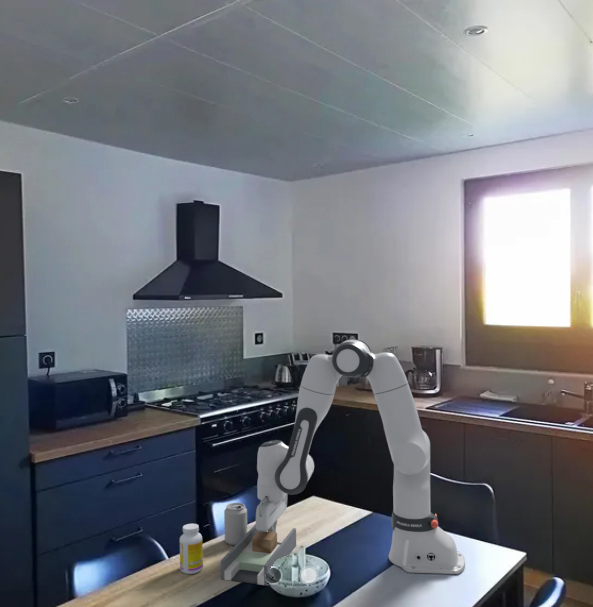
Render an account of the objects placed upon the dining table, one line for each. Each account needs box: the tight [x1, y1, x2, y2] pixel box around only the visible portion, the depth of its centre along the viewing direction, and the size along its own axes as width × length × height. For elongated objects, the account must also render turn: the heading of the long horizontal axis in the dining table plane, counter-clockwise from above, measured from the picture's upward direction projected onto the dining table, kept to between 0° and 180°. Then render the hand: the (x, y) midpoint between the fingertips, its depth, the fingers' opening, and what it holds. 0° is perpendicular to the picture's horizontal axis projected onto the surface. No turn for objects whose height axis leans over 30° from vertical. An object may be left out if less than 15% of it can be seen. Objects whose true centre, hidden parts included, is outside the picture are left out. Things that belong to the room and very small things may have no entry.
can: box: [223, 502, 248, 546], centre depth 194 cm, size 8×8×12 cm
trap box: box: [220, 523, 297, 587], centre depth 180 cm, size 14×28×6 cm, turn 163°
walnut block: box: [252, 531, 278, 554], centre depth 183 cm, size 6×6×4 cm
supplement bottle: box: [179, 523, 204, 575], centre depth 175 cm, size 7×7×13 cm
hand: (271, 534), depth 189 cm, fingers closed
